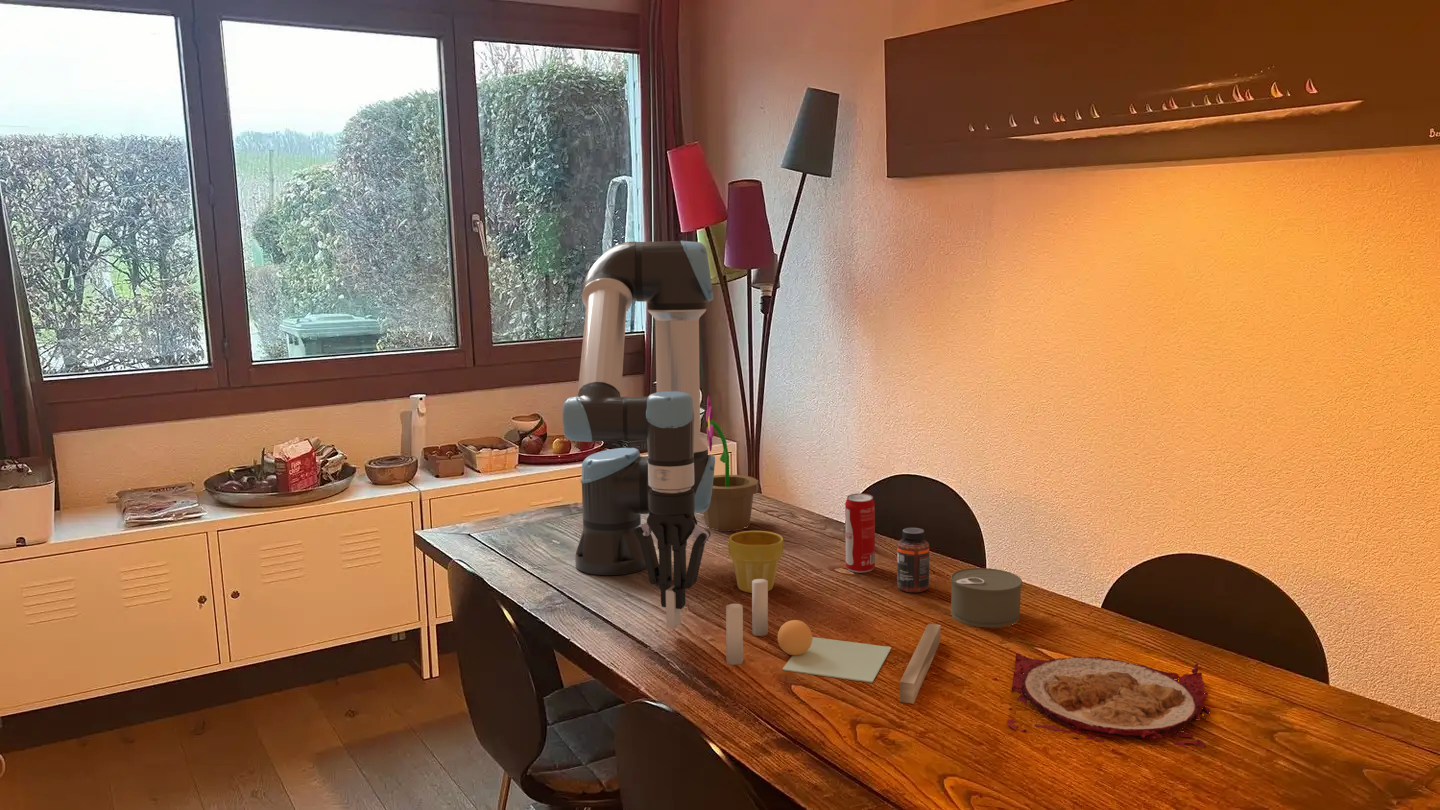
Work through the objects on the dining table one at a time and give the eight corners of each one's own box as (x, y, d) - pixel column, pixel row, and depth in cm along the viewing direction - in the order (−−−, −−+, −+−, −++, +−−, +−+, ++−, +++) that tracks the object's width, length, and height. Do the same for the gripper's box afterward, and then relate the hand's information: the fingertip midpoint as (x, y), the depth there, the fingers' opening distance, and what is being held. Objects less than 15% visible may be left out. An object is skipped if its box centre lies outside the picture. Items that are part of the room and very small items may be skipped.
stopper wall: (899, 701, 150) (899, 681, 150) (927, 641, 172) (928, 623, 172) (913, 703, 150) (913, 683, 149) (940, 642, 172) (940, 624, 171)
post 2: (750, 634, 176) (749, 583, 174) (755, 629, 178) (754, 578, 177) (765, 636, 175) (764, 584, 173) (769, 631, 177) (769, 579, 176)
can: (1034, 624, 179) (1036, 586, 178) (971, 632, 176) (972, 593, 175) (997, 601, 191) (998, 565, 190) (937, 608, 188) (938, 571, 187)
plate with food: (1015, 665, 165) (1016, 643, 164) (1201, 682, 156) (1202, 659, 156) (1005, 738, 142) (1006, 713, 141) (1222, 762, 133) (1223, 736, 133)
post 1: (724, 663, 164) (723, 608, 163) (729, 657, 167) (729, 602, 165) (739, 665, 163) (739, 610, 162) (745, 659, 166) (744, 604, 164)
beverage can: (874, 564, 212) (875, 492, 210) (875, 574, 206) (876, 500, 204) (844, 563, 213) (845, 491, 211) (844, 574, 207) (845, 499, 204)
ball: (785, 619, 164) (812, 644, 163) (797, 608, 169) (823, 631, 168) (766, 643, 166) (792, 667, 165) (778, 631, 171) (803, 654, 170)
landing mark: (782, 670, 162) (782, 668, 161) (807, 637, 174) (807, 636, 174) (872, 682, 157) (872, 681, 157) (891, 648, 170) (891, 647, 170)
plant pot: (789, 581, 203) (789, 532, 201) (774, 599, 193) (774, 547, 191) (738, 576, 206) (738, 528, 204) (721, 593, 196) (720, 542, 195)
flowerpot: (693, 518, 249) (692, 392, 244) (754, 515, 250) (753, 390, 245) (699, 534, 235) (697, 401, 230) (763, 532, 236) (762, 400, 231)
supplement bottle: (932, 585, 199) (933, 527, 198) (924, 595, 194) (925, 536, 192) (901, 581, 202) (902, 524, 200) (892, 591, 197) (893, 532, 195)
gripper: (624, 489, 170) (628, 629, 174) (700, 496, 165) (701, 639, 169) (644, 479, 177) (647, 613, 181) (716, 485, 172) (718, 623, 176)
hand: (673, 625), depth 175 cm, fingers closed
